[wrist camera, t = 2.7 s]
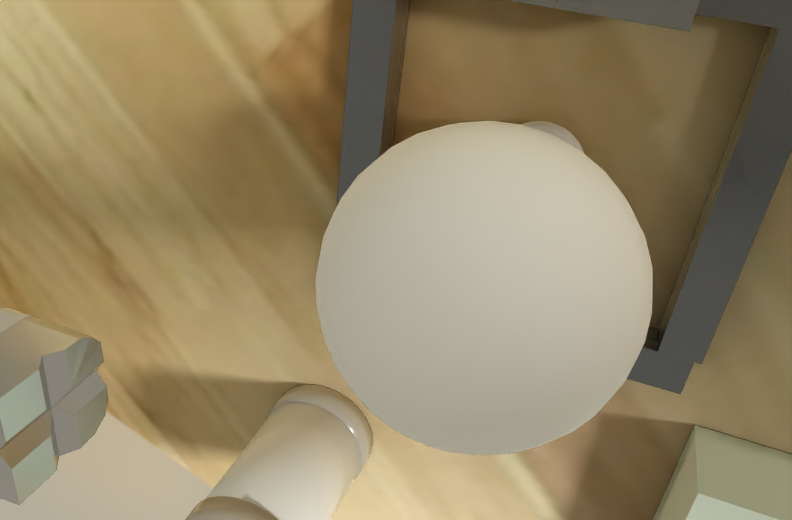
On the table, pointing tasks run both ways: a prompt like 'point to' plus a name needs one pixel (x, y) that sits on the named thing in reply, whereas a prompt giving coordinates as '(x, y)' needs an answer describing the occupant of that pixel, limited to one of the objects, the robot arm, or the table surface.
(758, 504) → the tray
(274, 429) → the fuse
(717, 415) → the table surface
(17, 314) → the robot arm
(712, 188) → the frame
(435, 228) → the lightbulb
